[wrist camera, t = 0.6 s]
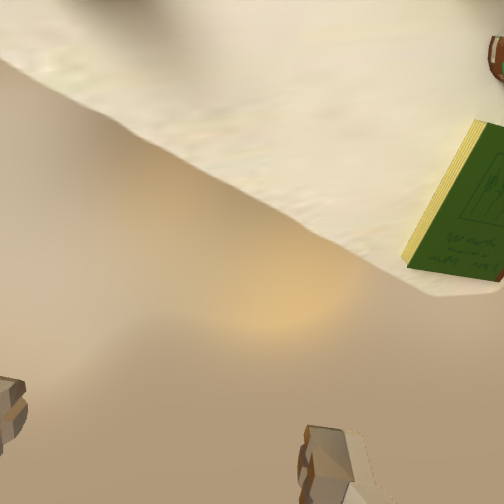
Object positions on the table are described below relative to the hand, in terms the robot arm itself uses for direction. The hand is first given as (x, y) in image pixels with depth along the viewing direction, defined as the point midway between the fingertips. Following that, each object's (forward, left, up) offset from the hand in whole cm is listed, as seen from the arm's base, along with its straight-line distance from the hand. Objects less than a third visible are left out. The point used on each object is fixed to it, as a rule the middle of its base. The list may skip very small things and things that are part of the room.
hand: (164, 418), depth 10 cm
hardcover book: (+36, +31, -45) cm, 66 cm away
